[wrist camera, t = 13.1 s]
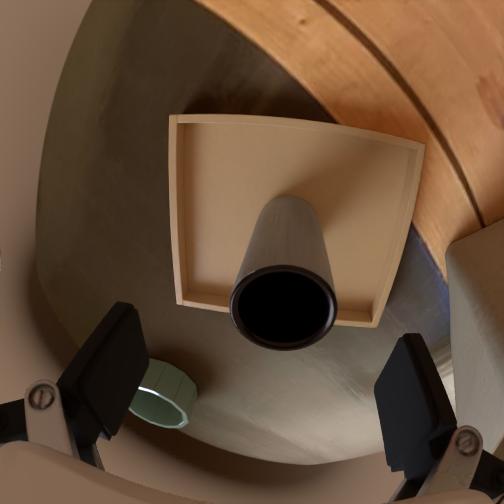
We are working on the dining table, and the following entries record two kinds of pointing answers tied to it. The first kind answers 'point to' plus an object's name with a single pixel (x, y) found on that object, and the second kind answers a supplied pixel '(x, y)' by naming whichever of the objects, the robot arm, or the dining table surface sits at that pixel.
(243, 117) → the tray
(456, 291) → the flower pot
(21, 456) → the robot arm
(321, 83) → the dining table surface
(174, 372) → the sleeve
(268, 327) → the grey cylinder
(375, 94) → the dining table surface
